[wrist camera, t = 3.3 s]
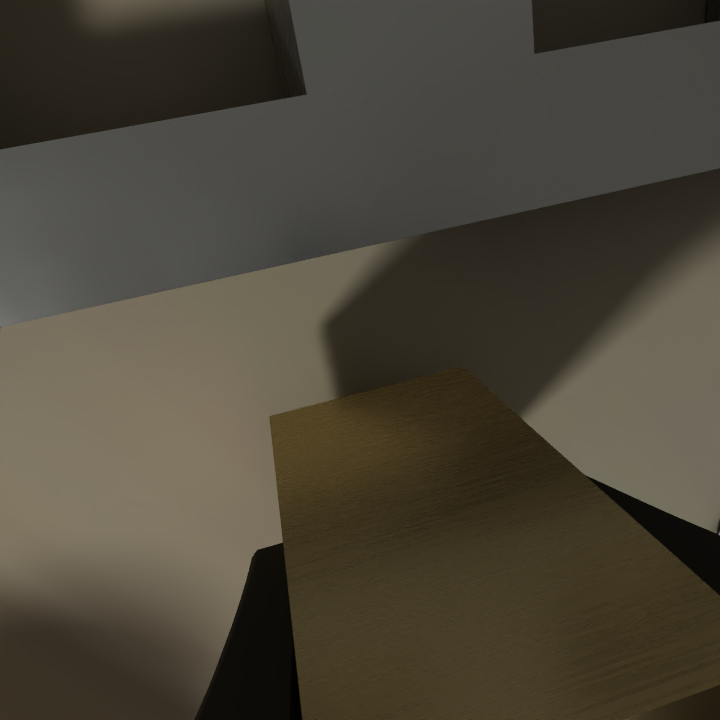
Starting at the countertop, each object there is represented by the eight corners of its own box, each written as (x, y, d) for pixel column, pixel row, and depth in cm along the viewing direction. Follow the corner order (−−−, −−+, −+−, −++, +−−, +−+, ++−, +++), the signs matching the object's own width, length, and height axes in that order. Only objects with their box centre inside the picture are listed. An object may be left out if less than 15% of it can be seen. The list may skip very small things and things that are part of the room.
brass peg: (481, 523, 12) (746, 916, 6) (313, 574, 12) (399, 1065, 5) (462, 366, 11) (791, 659, 4) (269, 416, 10) (314, 830, 4)
